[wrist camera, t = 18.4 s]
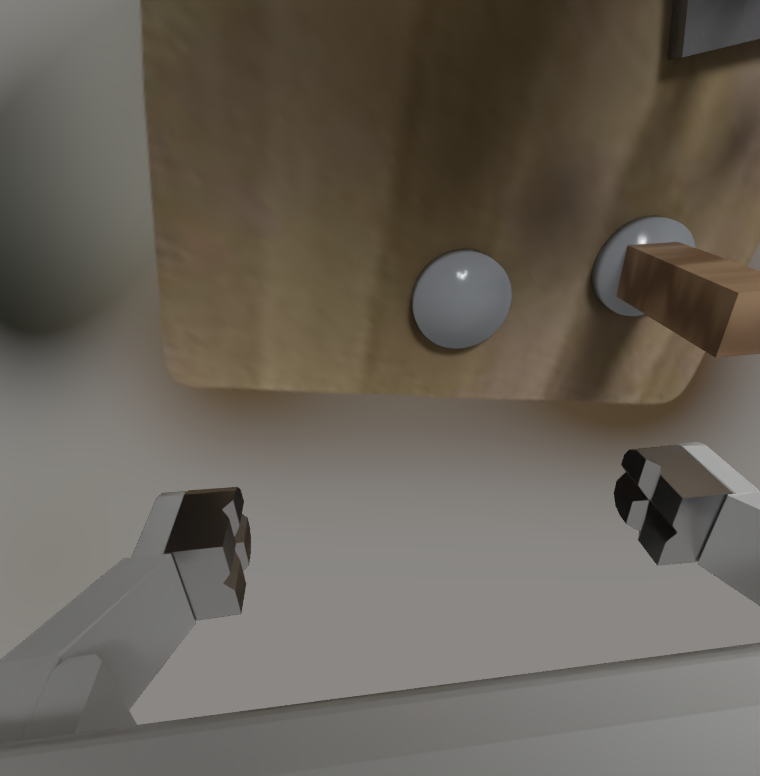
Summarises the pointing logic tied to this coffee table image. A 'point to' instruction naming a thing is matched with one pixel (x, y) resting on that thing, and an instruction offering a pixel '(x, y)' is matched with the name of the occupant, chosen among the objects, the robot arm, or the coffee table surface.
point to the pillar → (695, 296)
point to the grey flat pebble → (615, 251)
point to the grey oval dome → (461, 298)
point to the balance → (712, 25)
